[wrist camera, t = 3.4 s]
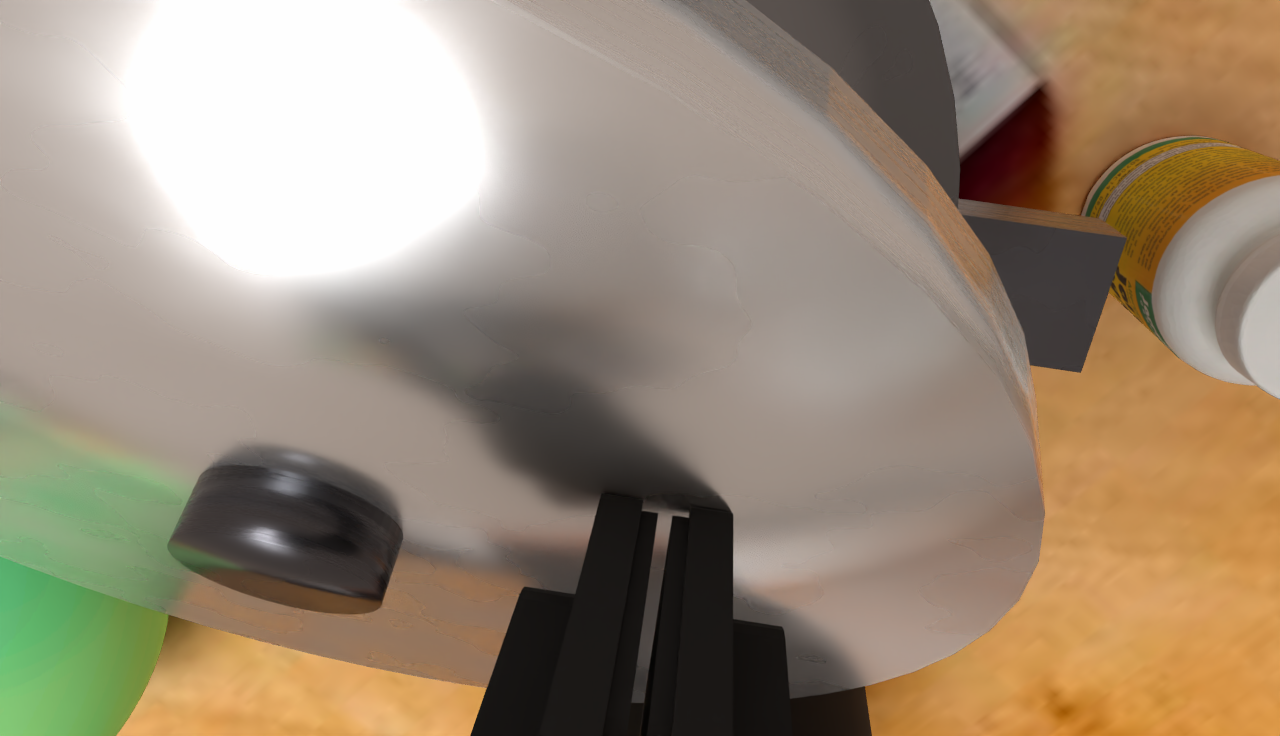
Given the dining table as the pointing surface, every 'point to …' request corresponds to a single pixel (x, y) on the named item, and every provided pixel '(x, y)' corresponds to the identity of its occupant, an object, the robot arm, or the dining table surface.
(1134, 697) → the dining table surface
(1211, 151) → the supplement bottle
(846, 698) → the coffee jar
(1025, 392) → the lid
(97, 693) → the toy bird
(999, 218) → the pot
